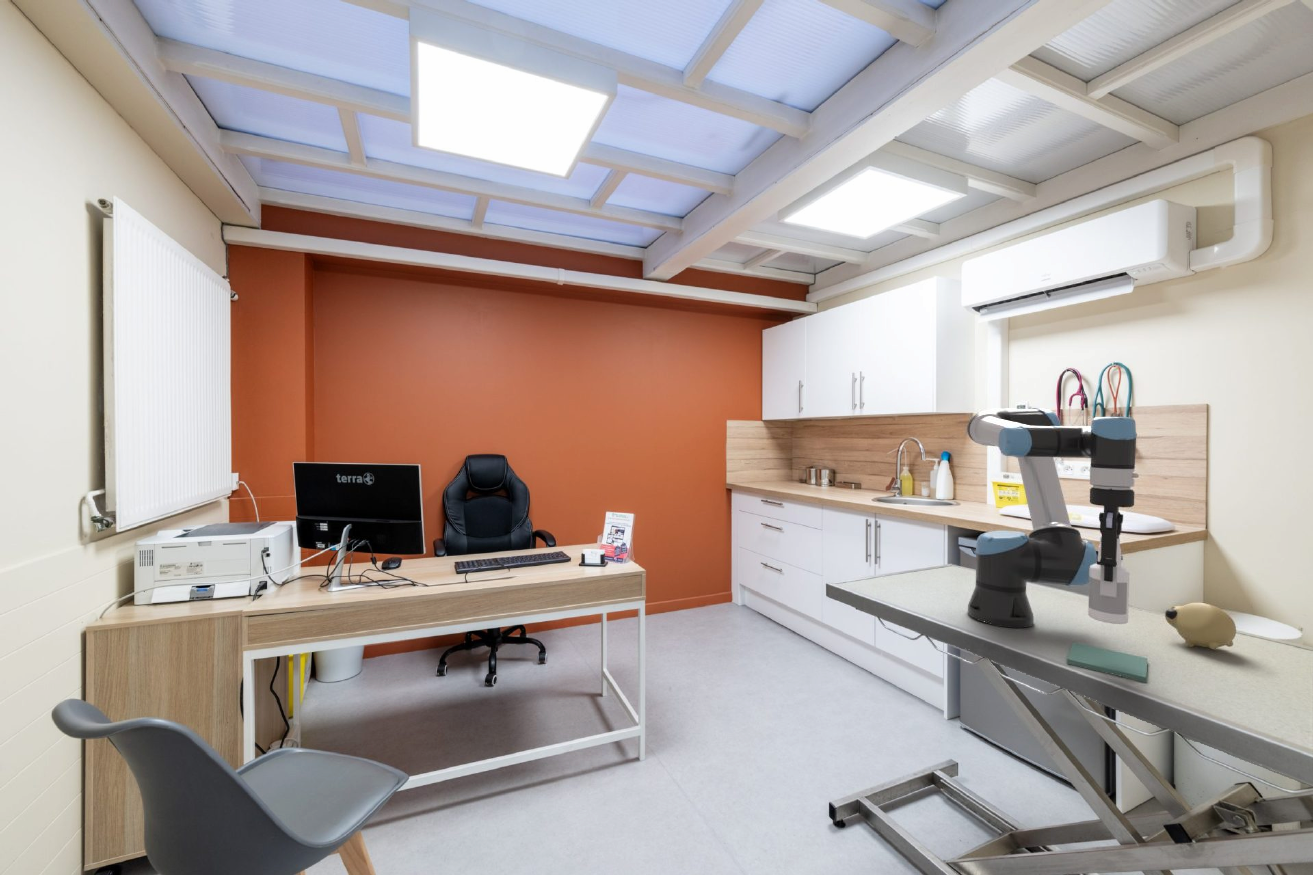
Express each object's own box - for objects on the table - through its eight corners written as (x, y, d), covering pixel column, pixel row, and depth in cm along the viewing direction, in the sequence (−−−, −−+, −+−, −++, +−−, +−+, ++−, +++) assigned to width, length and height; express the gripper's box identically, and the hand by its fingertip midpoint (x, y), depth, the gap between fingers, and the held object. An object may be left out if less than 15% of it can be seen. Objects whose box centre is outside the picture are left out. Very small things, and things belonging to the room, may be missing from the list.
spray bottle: (1080, 614, 124) (1082, 534, 124) (1108, 613, 125) (1110, 534, 124) (1107, 624, 117) (1109, 540, 117) (1136, 624, 118) (1139, 540, 118)
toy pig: (1184, 635, 138) (1185, 593, 138) (1246, 654, 127) (1247, 608, 126) (1155, 638, 136) (1156, 595, 135) (1215, 658, 124) (1217, 611, 124)
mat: (1066, 663, 121) (1067, 658, 121) (1073, 646, 130) (1073, 642, 130) (1146, 682, 112) (1146, 677, 112) (1147, 662, 122) (1147, 657, 122)
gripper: (1132, 492, 111) (1130, 606, 111) (1136, 485, 125) (1133, 586, 126) (1085, 489, 116) (1083, 598, 116) (1093, 483, 130) (1091, 579, 131)
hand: (1109, 591), depth 121 cm, fingers closed on spray bottle, 7 cm apart
